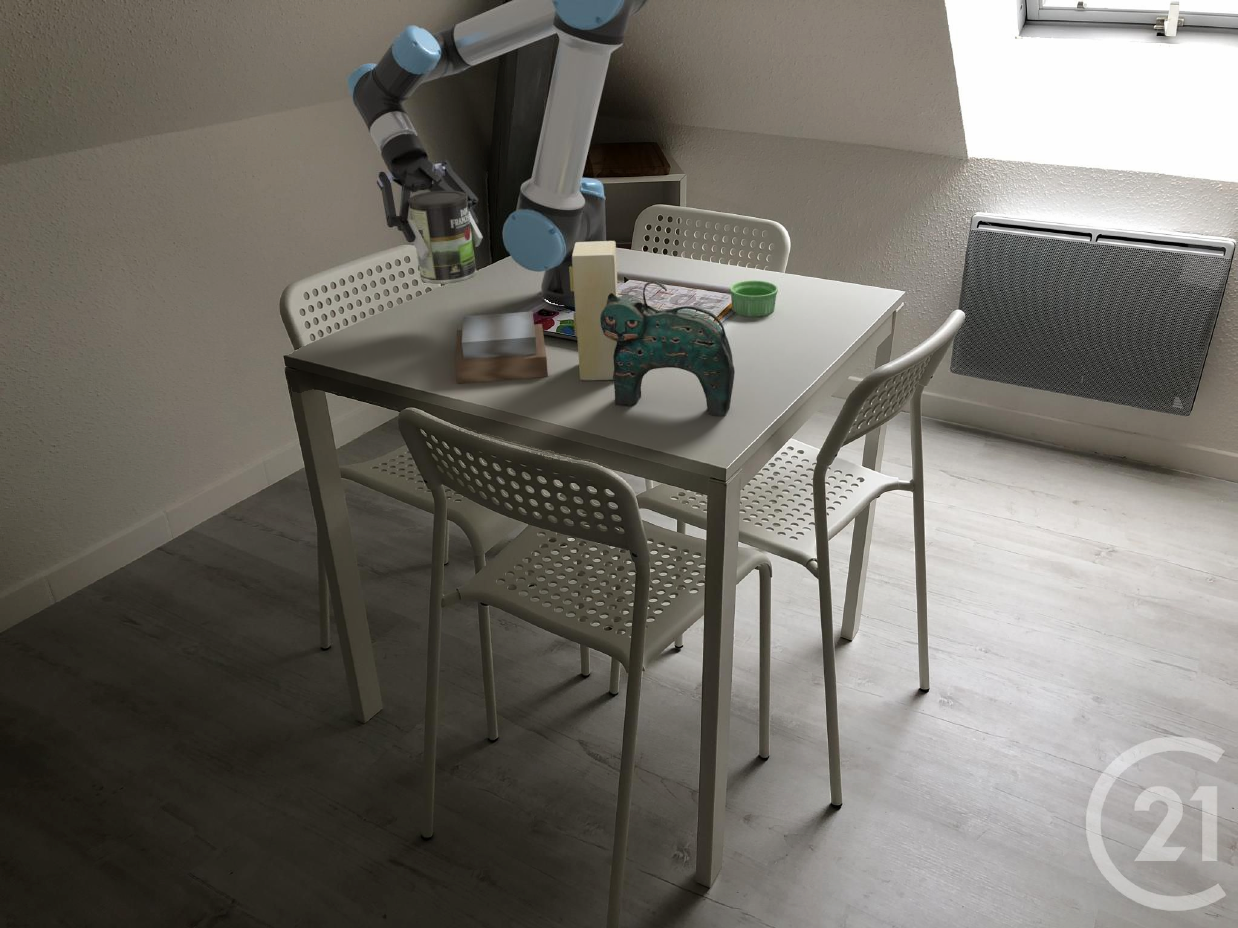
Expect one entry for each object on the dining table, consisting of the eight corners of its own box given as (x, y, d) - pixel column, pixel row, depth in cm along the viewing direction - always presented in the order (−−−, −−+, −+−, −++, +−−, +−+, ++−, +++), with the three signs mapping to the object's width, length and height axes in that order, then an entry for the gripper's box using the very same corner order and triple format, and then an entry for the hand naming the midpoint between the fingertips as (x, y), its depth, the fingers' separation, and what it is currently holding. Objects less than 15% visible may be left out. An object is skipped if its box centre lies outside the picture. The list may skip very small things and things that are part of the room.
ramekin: (719, 310, 186) (720, 287, 184) (752, 298, 191) (753, 277, 189) (753, 322, 180) (754, 299, 178) (786, 310, 184) (788, 288, 182)
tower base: (543, 342, 174) (540, 307, 171) (547, 376, 161) (545, 339, 158) (459, 348, 173) (454, 314, 170) (456, 383, 160) (452, 346, 157)
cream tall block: (578, 362, 166) (571, 241, 156) (621, 361, 166) (616, 240, 155) (574, 381, 159) (567, 256, 149) (619, 380, 159) (615, 255, 148)
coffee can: (486, 268, 179) (477, 191, 172) (460, 286, 170) (449, 205, 163) (437, 264, 182) (426, 189, 175) (409, 282, 174) (396, 203, 167)
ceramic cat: (602, 406, 151) (596, 282, 141) (615, 389, 156) (611, 268, 146) (727, 422, 145) (730, 293, 135) (737, 403, 150) (741, 278, 140)
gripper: (449, 148, 184) (501, 246, 180) (336, 169, 172) (389, 274, 169) (459, 122, 177) (513, 223, 174) (343, 141, 166) (398, 250, 162)
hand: (452, 248), depth 171 cm, fingers closed on coffee can, 10 cm apart
